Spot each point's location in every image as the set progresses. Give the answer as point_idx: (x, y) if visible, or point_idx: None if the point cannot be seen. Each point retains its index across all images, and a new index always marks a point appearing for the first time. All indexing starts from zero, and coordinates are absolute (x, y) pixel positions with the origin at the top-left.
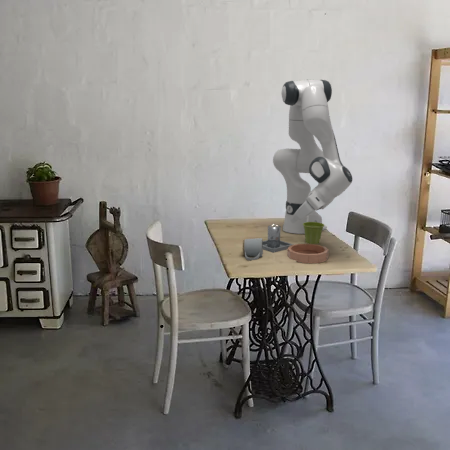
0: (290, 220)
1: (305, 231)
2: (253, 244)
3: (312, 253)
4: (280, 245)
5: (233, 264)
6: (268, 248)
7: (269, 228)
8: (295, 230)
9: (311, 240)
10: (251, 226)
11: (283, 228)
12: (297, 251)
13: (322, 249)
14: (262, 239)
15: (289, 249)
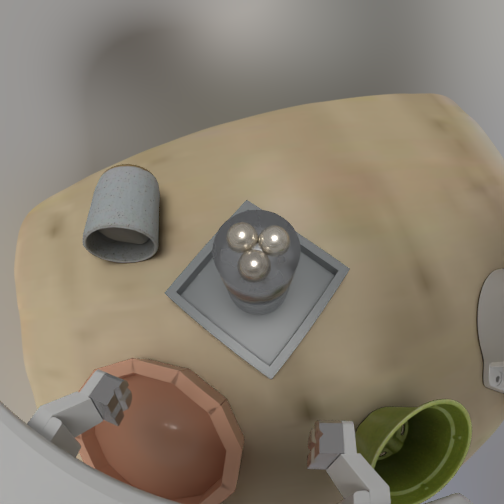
0: (96, 370)
1: (390, 420)
2: (89, 210)
3: (180, 461)
4: (290, 312)
5: (69, 198)
6: (185, 270)
7: (224, 226)
8: (487, 324)
9: (358, 444)
10: (474, 175)
11: (495, 272)
12: (193, 402)
13: (198, 501)
14: (128, 228)
15: (118, 366)
